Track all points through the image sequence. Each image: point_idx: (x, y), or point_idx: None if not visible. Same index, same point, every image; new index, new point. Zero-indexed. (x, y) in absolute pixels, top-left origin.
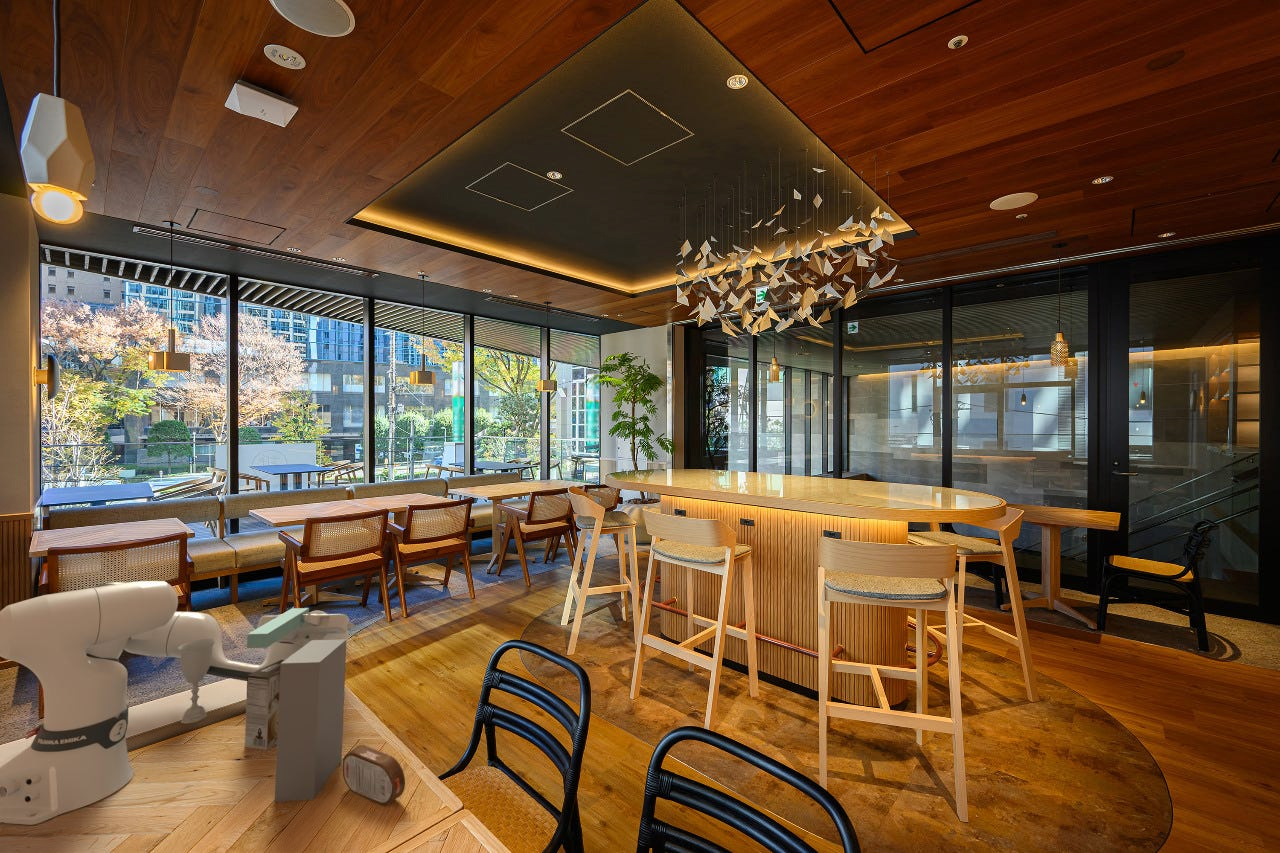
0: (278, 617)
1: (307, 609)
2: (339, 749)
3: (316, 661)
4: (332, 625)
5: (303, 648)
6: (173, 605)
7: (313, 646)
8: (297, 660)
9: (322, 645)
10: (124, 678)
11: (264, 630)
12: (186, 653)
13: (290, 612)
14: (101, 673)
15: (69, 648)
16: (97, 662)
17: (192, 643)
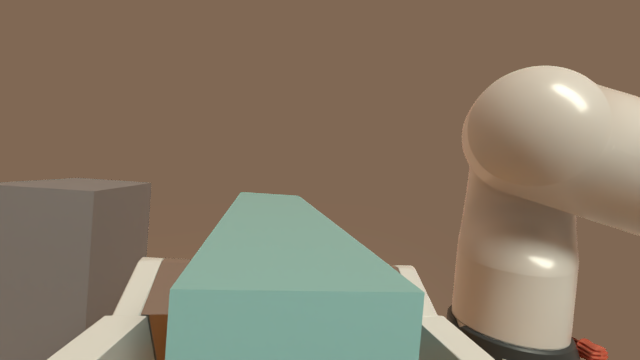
0: (319, 221)
1: (181, 282)
2: None
3: (84, 178)
4: None
5: (115, 186)
6: (474, 124)
7: (89, 186)
8: (121, 181)
9: (64, 185)
10: (476, 265)
11: (267, 196)
12: None
13: (315, 244)
14: (465, 231)
15: (469, 176)
16: (494, 221)
17: None
